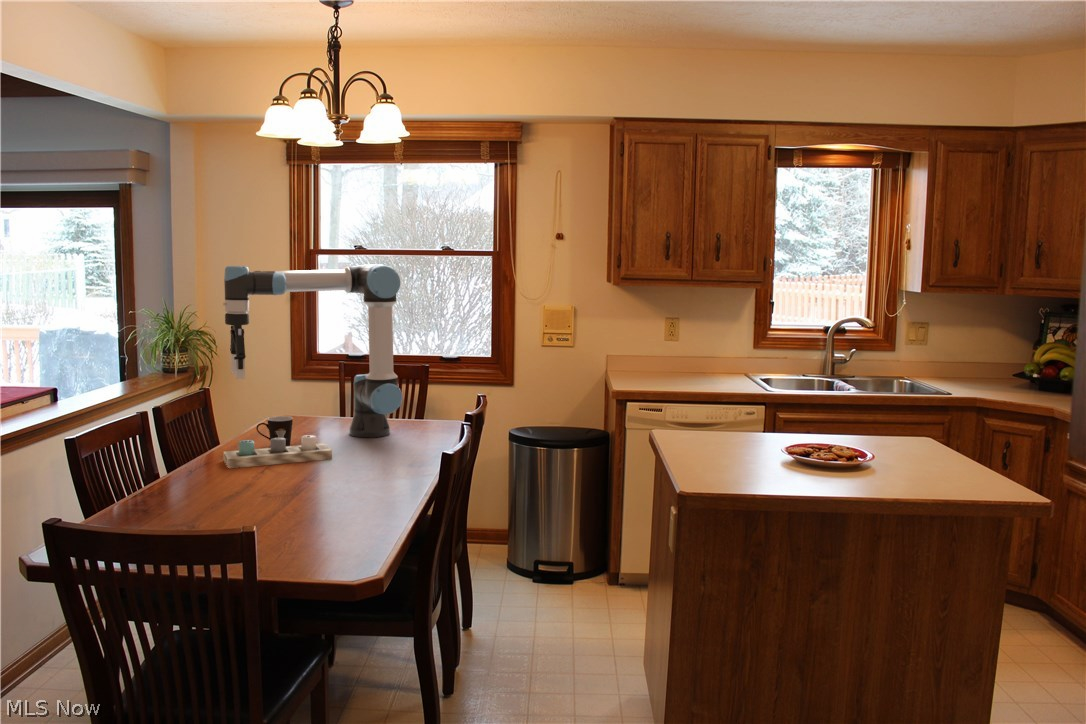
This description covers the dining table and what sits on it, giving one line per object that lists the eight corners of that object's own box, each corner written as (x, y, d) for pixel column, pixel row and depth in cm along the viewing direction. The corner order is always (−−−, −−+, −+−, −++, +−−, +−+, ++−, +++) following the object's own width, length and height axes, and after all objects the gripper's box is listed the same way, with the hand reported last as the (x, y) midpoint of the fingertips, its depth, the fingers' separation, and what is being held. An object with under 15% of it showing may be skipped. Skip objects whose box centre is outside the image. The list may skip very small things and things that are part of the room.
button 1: (314, 447, 289) (314, 434, 288) (317, 450, 285) (317, 437, 284) (300, 448, 287) (299, 435, 286) (303, 451, 282) (302, 438, 282)
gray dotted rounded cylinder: (284, 450, 284) (284, 436, 284) (287, 453, 280) (286, 439, 279) (269, 451, 282) (269, 437, 281) (272, 454, 278) (271, 440, 277)
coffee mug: (297, 444, 304) (296, 416, 303) (287, 449, 295) (287, 421, 294) (265, 442, 305) (265, 415, 304) (255, 448, 297) (254, 420, 295)
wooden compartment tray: (324, 451, 294) (324, 443, 293) (332, 458, 284) (332, 450, 284) (223, 460, 278) (223, 451, 278) (228, 468, 269) (227, 459, 268)
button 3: (253, 452, 280) (252, 438, 279) (255, 456, 275) (255, 442, 275) (237, 454, 277) (237, 440, 277) (240, 457, 273) (239, 443, 273)
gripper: (221, 310, 290) (222, 371, 293) (229, 315, 268) (230, 381, 271) (244, 310, 294) (245, 370, 296) (253, 315, 271) (254, 381, 274)
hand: (237, 376), depth 284 cm, fingers open, 13 cm apart
